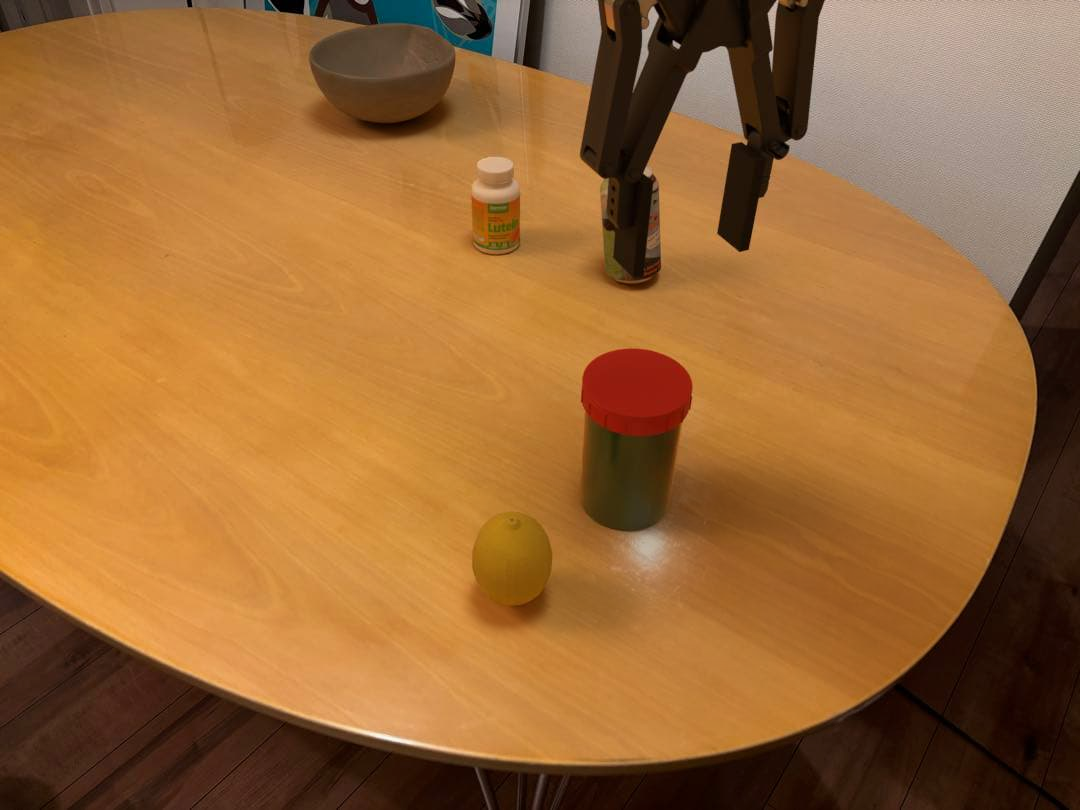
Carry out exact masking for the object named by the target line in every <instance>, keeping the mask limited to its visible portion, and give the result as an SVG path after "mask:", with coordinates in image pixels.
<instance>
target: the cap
mask: <svg viewBox="0 0 1080 810" xmlns="http://www.w3.org/2000/svg"><path fill="white" fill-rule="evenodd" d="M581 379H582V380H581V391H580V392H581V393H580V403H581V404H582V407H583V409H584V412H585V411H586V413H587V414H588V416H590V418H591V419H592V420H594V421H595V422H596V423H598V424H599V425H601V426H602V427H604V428H606V429H608V430H611V431H613V432H617V433H620V434H625V435H631V436H651V435H657V434H661V433H664V432H667V431H669V430H671V429H673V428H675V427H676V426H678V425H679V424H680V423H681V422H682V423H684V420H686V417H687V416H688V414H689V412H690V411H691V407H692V401H693V396H692V394H693V381H692V380H693V379H692V377H691V375H690V373H689V372H688V370H687V369H686V368H685V366H683V365H682V364H681V363H680V362H679V361H677V360H676V359H674V358H672V357H670V356H668V355H666V354H664V353H661V352H658V351H654V350H650V349H645V348H633V347H632V348H631V347H630V348H620V349H615V350H611V351H607V352H605V353H602V354H600V355H598V356H596V357H595V358H594V359H592V360H591V361H590V362H589V363H588V364H587V365H586V367H585V368H584V371H583V373H582V376H581Z"/></svg>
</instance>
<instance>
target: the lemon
mask: <svg viewBox="0 0 1080 810" xmlns="http://www.w3.org/2000/svg"><path fill="white" fill-rule="evenodd" d="M471 554H472V555H471V556H472V557H471V558H472V559H471V564H472V565H471V567H472V572H473V575H474V578H475V581H476V584H477V585H478V587H479V588H480V590H481V591H482V592H483V594H484V595H485V596H487V597H488V598H489V599H490V600H492V601H493V602H496V603H498V604H502V605H504V606H520V605H524V604H526V603H528V602H531V601H532V600H534V599H536V597H538V596H539V595H540V594H541V593H542V591H544V589H545V588H546V586H547V585H548V582H549V579H550V577H551V575H552V570H553V569H552V567H553V550H552V547H551V542H550V538H549V536H548V533H547V532H546V530H545V529H544V527H543V525H542V524H541V523H540V522H539V521H537V519H535V518H534V517H532V516H531V515H529V514H526V513H524V512H519V511H504V512H501V513H499V514H496V515H494V516H492V517H490V518H489V519H488V520H487V521H486V522H485V523H484V524H483V525H482V527H481V528H480V529H479V531H478V533H477V535H476V538H475V540H474V544H473V547H472V553H471Z"/></svg>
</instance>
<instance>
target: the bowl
mask: <svg viewBox="0 0 1080 810" xmlns="http://www.w3.org/2000/svg"><path fill="white" fill-rule="evenodd" d="M456 56H457V54H456V49H455V46H454V45H453V43H452V42H450V41H449V40H447V39H446V38H444V37H443V36H442V35H441V34H439V33H437V32H435V30H434V29H432V28H430V27H426V26H422V25H419V24H411V23H400V22H398V23H397V22H395V23H394V22H391V23H390V22H389V23H377V24H369V25H363V26H357V27H353V28H349V29H345V30H343V31H340V32H336V33H334V34H330V35H329V36H326V37H324V38H323V39H321V40H319V41H317V43H315V44H314V45H313V46H312V48H311V49H310V51H309V53H308V60H309V61H308V62H309V66H310V71H311V74H312V76H313V78H314V81H315V83H316V84H317V86H318V88H319V90H320V91H321V93H322V95H323V96H324V97H325V99H326V100H328V102H329V103H330V104H331V105H332V106H333V107H335V108H336V109H337V110H338V111H340V112H341V113H344V114H345V115H348V116H349V117H352V118H354V119H358V120H361V121H366V122H369V123H378V124H394V123H396V124H397V123H401V122H405V121H409V120H412V119H415V118H417V117H420V116H422V115H423V114H425V113H427V112H429V111H430V110H431V109H433V108H434V107H435V106H437V105H438V103H440V101H441V100H442V99H443V97H444V96H445V95H446V93H447V91H448V89H449V86H450V84H451V82H452V79H453V76H454V71H455V67H456Z"/></svg>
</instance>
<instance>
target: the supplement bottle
mask: <svg viewBox="0 0 1080 810" xmlns="http://www.w3.org/2000/svg"><path fill="white" fill-rule="evenodd" d="M514 176H515V168H514V163H513V161H512V160H510V159H509V158H506V157H504V156H488V157H484V158H482V159H479V160H478V162H476V177H477V178H476V179H475V180H474V182H472V185H471V188H470V189H471V190H470V196H471V197H470V198H471V221H472V223H471V224H472V243H473V245H474V247H475V248H476V249H477V250H478V251H480V252H482V253H485V254H489V255H504V254H505V255H506V254H508V253H510V252H513V251H514V250H516V249H517V248H519V245H520V241H521V187H520V184H519V182H518V181H517V180H516V179H514Z"/></svg>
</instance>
